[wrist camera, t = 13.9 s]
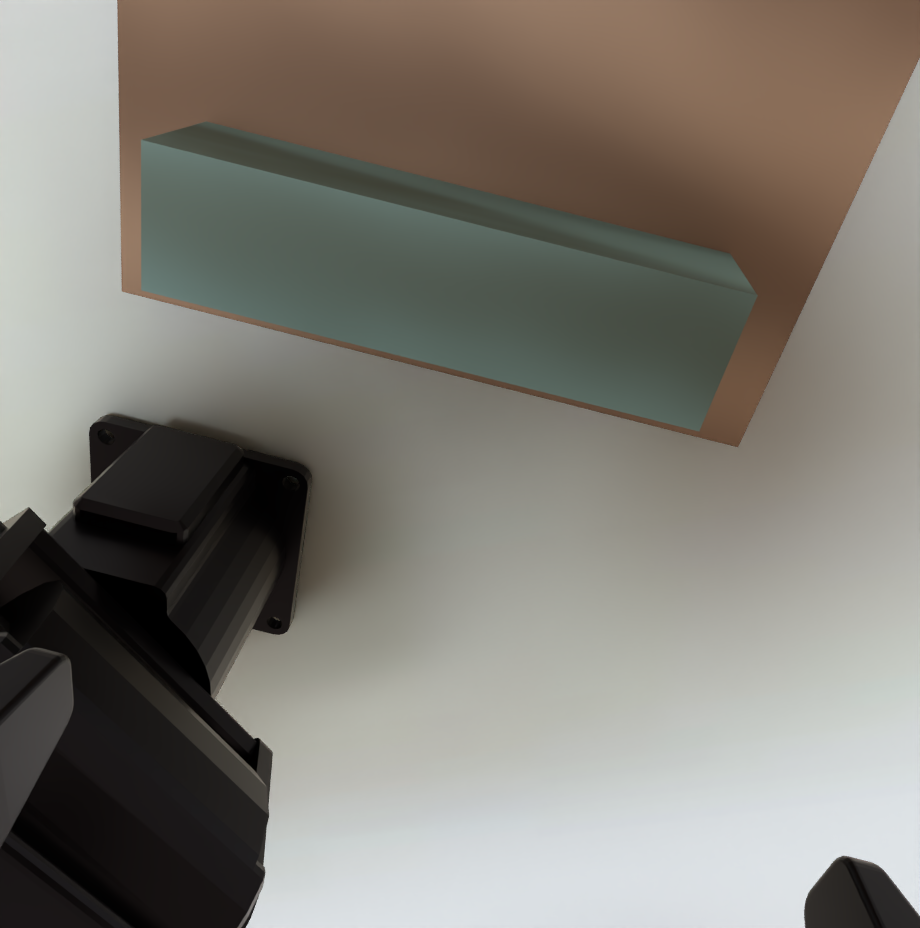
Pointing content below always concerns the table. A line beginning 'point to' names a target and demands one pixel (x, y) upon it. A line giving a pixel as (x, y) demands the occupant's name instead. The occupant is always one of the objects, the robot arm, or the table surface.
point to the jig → (510, 181)
